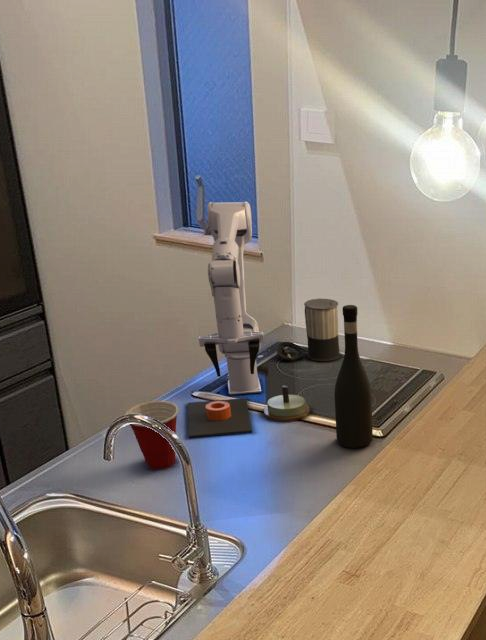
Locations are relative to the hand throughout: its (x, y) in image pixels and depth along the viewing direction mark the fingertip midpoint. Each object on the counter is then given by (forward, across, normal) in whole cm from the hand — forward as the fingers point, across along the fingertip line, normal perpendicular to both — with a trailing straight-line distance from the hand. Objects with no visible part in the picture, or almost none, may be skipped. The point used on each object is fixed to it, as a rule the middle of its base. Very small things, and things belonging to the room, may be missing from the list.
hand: (235, 373), depth 199 cm
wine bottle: (+10, +24, -23) cm, 35 cm away
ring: (+9, -5, -3) cm, 11 cm away
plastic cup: (+10, -18, -25) cm, 32 cm away
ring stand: (+9, +11, -3) cm, 15 cm away
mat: (+9, -5, -3) cm, 11 cm away
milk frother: (+10, +21, +35) cm, 42 cm away
